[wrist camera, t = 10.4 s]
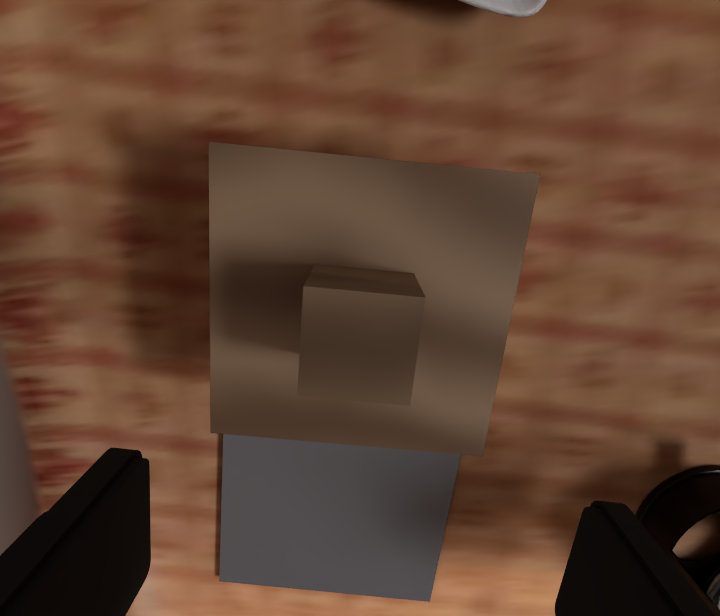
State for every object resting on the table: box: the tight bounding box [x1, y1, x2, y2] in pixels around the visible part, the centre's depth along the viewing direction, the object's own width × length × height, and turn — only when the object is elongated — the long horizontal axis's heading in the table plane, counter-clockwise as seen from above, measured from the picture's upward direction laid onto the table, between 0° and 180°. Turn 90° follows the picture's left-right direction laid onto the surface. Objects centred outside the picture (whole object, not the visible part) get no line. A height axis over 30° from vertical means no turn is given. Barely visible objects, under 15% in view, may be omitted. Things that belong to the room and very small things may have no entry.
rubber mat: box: [219, 434, 461, 602], centre depth 32 cm, size 16×16×1 cm
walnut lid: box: [209, 142, 540, 456], centre depth 19 cm, size 14×14×5 cm
